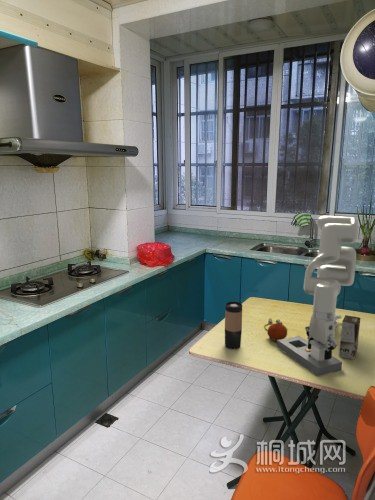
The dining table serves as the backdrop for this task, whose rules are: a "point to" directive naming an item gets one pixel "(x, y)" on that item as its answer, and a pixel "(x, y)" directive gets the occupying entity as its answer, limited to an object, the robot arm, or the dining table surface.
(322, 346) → the plug
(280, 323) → the extension cord
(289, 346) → the socket block
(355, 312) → the dining table surface
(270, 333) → the fruit
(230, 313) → the travel mug
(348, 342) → the coffee box
